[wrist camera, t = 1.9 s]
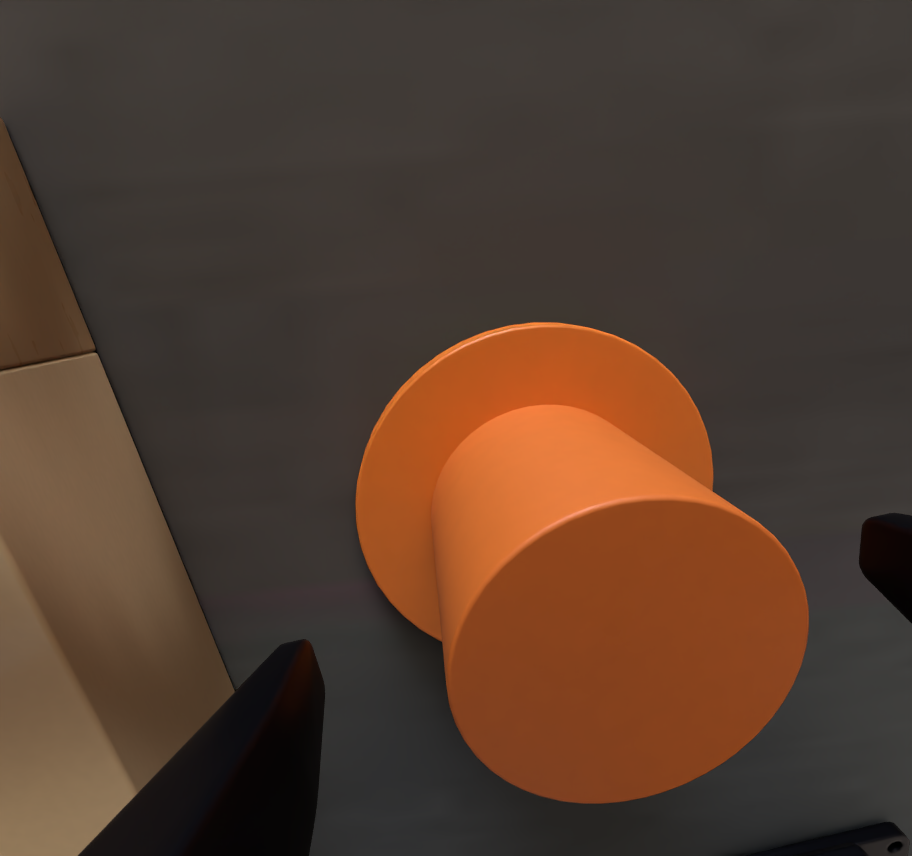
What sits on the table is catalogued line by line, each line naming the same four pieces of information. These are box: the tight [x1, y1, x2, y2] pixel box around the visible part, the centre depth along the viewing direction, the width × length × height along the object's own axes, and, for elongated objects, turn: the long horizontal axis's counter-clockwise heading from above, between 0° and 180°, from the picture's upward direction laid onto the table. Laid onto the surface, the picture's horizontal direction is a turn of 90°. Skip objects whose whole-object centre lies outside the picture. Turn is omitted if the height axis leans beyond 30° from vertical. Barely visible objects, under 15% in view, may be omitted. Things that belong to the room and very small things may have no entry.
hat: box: [355, 322, 809, 804], centre depth 8 cm, size 8×8×5 cm
